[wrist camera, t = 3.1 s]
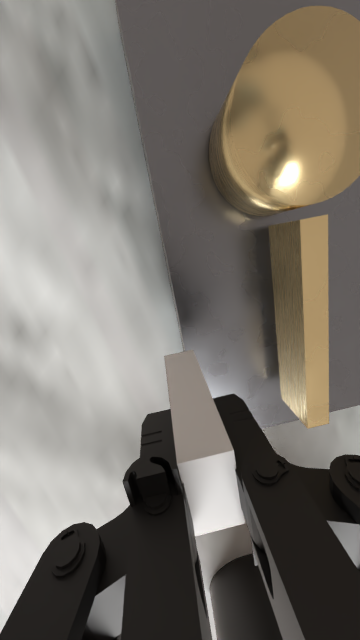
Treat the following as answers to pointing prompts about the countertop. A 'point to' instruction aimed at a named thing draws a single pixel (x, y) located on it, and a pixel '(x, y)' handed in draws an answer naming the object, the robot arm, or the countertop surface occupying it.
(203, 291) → the levelling base
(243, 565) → the water bottle
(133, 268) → the countertop surface
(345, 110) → the brass ladle
